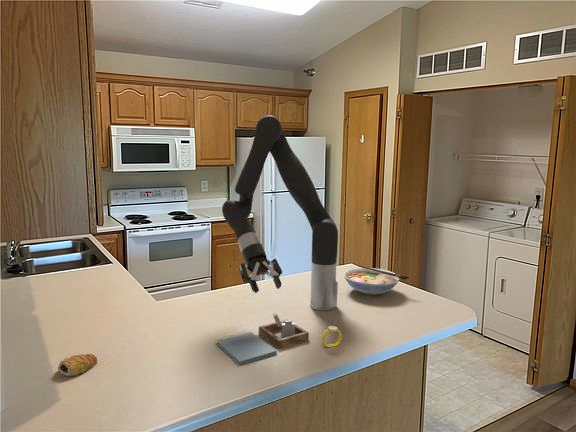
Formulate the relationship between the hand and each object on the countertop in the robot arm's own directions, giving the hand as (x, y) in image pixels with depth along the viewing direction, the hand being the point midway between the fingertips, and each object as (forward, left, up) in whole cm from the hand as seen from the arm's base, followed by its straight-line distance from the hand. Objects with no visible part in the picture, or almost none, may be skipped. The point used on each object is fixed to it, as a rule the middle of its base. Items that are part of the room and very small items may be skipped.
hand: (268, 289), depth 144 cm
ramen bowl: (-54, -7, -13) cm, 56 cm away
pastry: (+58, -4, -13) cm, 59 cm away
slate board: (+14, +10, -13) cm, 21 cm away
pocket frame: (0, +9, -13) cm, 16 cm away
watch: (-9, +22, -13) cm, 27 cm away
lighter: (0, +9, -13) cm, 16 cm away
